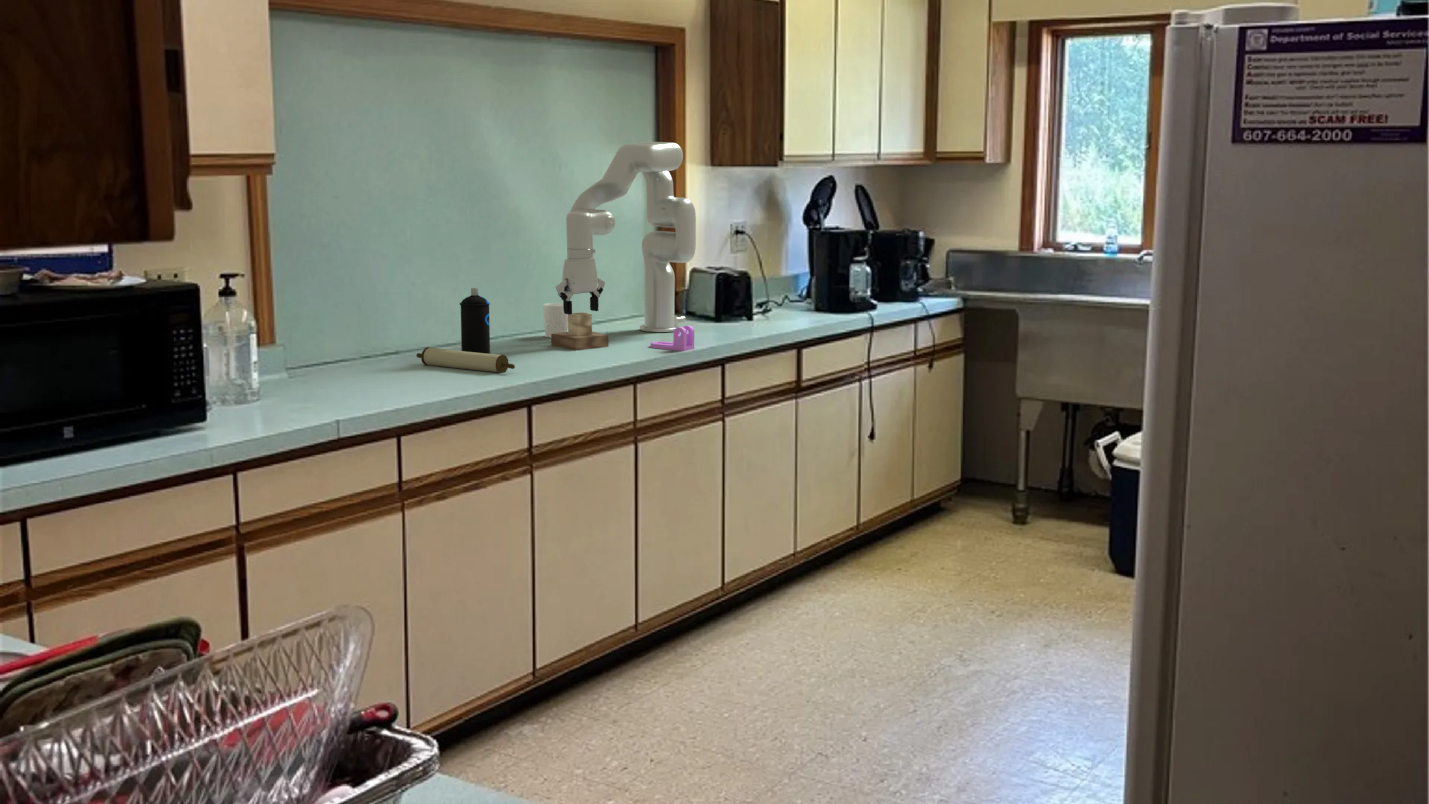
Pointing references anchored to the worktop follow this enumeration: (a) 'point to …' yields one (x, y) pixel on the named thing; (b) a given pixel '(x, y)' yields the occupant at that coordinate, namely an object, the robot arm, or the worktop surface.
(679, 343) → the bracket
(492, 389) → the worktop surface
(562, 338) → the base block
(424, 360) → the rolling pin
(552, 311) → the white cup
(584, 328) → the maple block
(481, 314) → the aerosol can
